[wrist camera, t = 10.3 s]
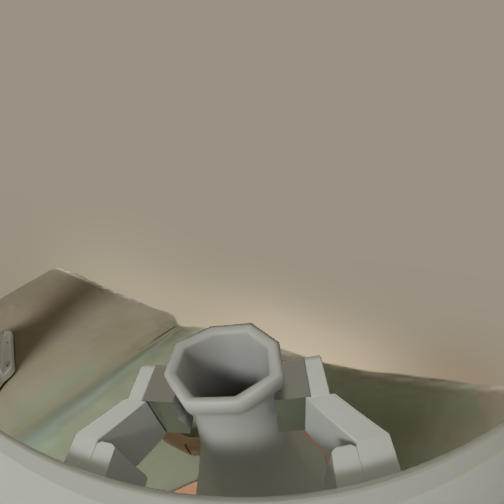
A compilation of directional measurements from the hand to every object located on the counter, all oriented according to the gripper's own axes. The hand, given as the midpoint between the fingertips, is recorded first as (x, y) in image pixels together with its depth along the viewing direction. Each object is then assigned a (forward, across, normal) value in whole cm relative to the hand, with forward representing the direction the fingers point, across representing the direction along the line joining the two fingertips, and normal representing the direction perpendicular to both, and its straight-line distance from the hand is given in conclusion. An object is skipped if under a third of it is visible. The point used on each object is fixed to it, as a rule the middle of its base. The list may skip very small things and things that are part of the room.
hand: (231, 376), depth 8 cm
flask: (-1, 0, +8) cm, 8 cm away
